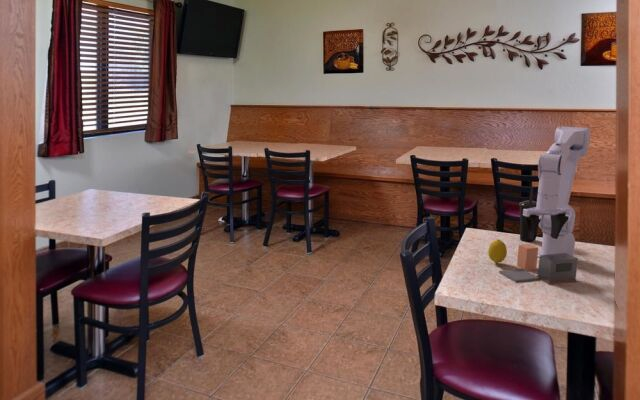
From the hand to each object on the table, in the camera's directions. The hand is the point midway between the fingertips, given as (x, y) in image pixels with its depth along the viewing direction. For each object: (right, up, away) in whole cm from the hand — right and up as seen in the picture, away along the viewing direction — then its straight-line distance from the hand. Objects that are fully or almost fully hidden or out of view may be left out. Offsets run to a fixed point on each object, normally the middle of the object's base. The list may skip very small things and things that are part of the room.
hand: (543, 238), depth 154 cm
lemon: (-11, -9, +9) cm, 17 cm away
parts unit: (+2, -12, -4) cm, 13 cm away
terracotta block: (-3, -10, +6) cm, 11 cm away
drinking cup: (+9, -3, +34) cm, 36 cm away
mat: (-8, -11, -2) cm, 14 cm away
